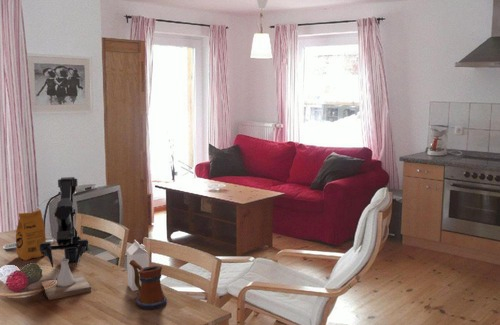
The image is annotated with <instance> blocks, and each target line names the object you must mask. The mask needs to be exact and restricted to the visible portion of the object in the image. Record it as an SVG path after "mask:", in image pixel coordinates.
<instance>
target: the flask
mask: <svg viewBox="0 0 500 325" xmlns="http://www.w3.org/2000/svg"><path fill="white" fill-rule="evenodd" d="M68 261H69V260H68V259H63V258H62V259H60V260H59V262H60V271H59V274H58V276H57V278H58V279H57V278H56V279H57V285H58V286H62V287H66V286H70V285H73V284H74V283H75V282H76V281H75V279H74V277H73V273H72V271H71V269H70V266H69V263H68Z"/></svg>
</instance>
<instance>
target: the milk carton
mask: <svg viewBox="0 0 500 325" xmlns="http://www.w3.org/2000/svg"><path fill="white" fill-rule="evenodd" d="M149 258H150V257H149V252H148V251H147V250H146V245H144V244H143V243H141V244H140V243H139V242H138V241H137V240H136V239H134V242H133V243H132V244H131V245H130V246H129V247H128V248H127V249H126V266H127V285H128V288H130V290H131V291H132V292H135V291H139V289H138V288H137V286H136V285H135V281H134V279H135V272H134V268H133V266H132V265H130V264H129V263H130V261H132V260H134V261H135V262H136V263H137V264H139V265H140V266H141V267H142V268H145V267H150V259H149ZM137 270H138V272H139V271H140V270H139V269H138V268H137ZM139 276H140V274H139ZM139 283H140V286H141V281H140V278H139Z"/></svg>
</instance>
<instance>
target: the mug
mask: <svg viewBox="0 0 500 325" xmlns="http://www.w3.org/2000/svg"><path fill="white" fill-rule="evenodd" d="M129 264H130V265H132V266H133V268H134V272H135V279H134V281H135V285H136V286H137V288H138V289H139V290H138V292H139V293H137V297H136V300H135V304H136V306H138V307H139V308H140V309H143V310H156V309H157V310H158V309H160V308H163V306H165V305H166V303H167V301H168V299H167V297H166V295H165V293H164V291H163V289H162V285H161V278H162V270H163V266H161V265H151V266H150V265H149V267H145V268H142V267H141V266H140V265H139V264H137V263H136V262H135V261H134V260H132V261H130V263H129ZM137 268H138V269H139V270H140V271H139V272H138V270H137ZM139 274H140V276H139ZM139 278H140V281H141V286H140V283H139Z"/></svg>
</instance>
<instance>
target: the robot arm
mask: <svg viewBox="0 0 500 325" xmlns="http://www.w3.org/2000/svg"><path fill="white" fill-rule="evenodd" d="M57 185H58V186H57V188H59V191H60V200H58V201H57V204H56V207H55V209H54V217H55V220H56V224H57V231H56V243H57V244H51V242H50V241H46V242H45V243H41V244H40V252H41V254H42V255H43V256H44V257H47V259H48V261H49V262H50V266H51V268H54V258H53V254H52V253H53V252H52V251H55V250H63V251H64V257H63V258H62V259H68V260H69V261H68V264H70V263H75V265H76V266H78V265H79V262H80V261H81V257H82V256H83V255H84V254H85V253H86V252H88V251H90V244H89V240H88V239H87V238H86V239H82V238H81V237H80V235H79V232H78V230H77V229H76V228H75V215H76V213H77V209H76V207H75V206H74V195H75V193H76V192H77V187H78V179H77V178H75V176H68V177H60V179H59V178H58V179H57Z"/></svg>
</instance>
